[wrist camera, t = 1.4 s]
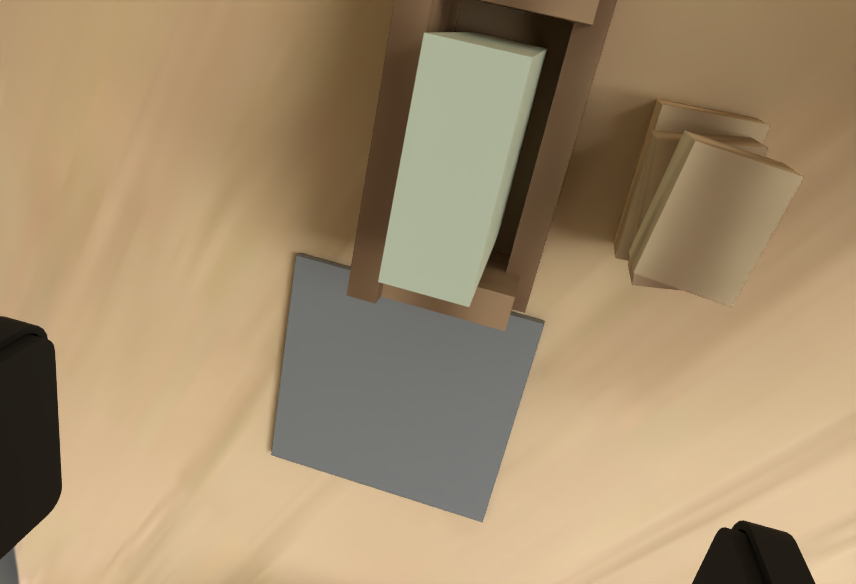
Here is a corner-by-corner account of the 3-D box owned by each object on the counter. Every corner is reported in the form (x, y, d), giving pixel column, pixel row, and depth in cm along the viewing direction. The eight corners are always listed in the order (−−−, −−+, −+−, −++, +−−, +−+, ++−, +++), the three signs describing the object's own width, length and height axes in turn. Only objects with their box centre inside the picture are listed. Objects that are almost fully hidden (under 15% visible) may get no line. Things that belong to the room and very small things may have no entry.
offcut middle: (750, 137, 31) (767, 147, 28) (719, 274, 33) (732, 295, 31) (650, 130, 31) (657, 139, 29) (628, 264, 34) (632, 284, 31)
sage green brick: (547, 48, 34) (532, 57, 23) (500, 227, 38) (469, 307, 27) (473, 32, 34) (424, 32, 23) (435, 210, 38) (378, 281, 27)
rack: (618, -14, 32) (628, -25, 25) (528, 292, 39) (518, 344, 32) (439, -52, 33) (406, -72, 27) (383, 253, 40) (346, 295, 33)
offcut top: (782, 162, 28) (803, 177, 25) (717, 282, 31) (731, 307, 28) (684, 130, 28) (695, 141, 26) (628, 251, 31) (633, 272, 28)
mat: (544, 320, 39) (544, 324, 39) (483, 517, 46) (482, 522, 45) (299, 252, 41) (296, 255, 41) (274, 451, 48) (271, 455, 47)
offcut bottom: (754, 117, 33) (770, 125, 30) (702, 261, 36) (711, 279, 34) (656, 98, 34) (662, 104, 31) (613, 240, 37) (615, 257, 34)
